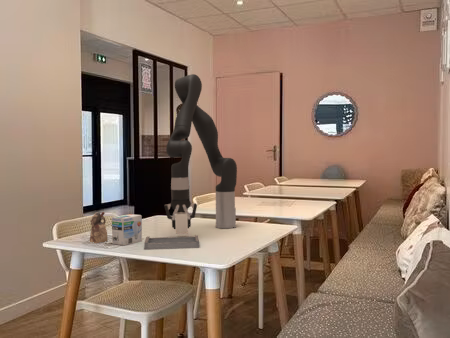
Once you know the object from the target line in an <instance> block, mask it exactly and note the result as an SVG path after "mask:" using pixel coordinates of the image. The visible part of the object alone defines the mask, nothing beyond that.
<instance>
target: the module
mask: <svg viewBox="0 0 450 338" xmlns="http://www.w3.org/2000/svg"><path fill="white" fill-rule="evenodd" d="M175 227H176V229H174V230H175V235H182V234H183V235H184V234H188V233H189V228H188V217H187V213H185V212H179V213H177V214H175Z"/></svg>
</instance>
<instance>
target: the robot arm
mask: <svg viewBox="0 0 450 338" xmlns="http://www.w3.org/2000/svg"><path fill="white" fill-rule="evenodd" d="M202 88H203V84H202V80H201V78H200V77H199V76H198V75H197V74H194V73H191V74H188V75H185V76H183V77H180V78H178V79H176V80H175V82H174V89H175V92H176V95H177V96H178V99H179V101H180V102H181V103H182V106H181V108H180V109H179V111H178V112H177V115H176V117H175V120H174V126H173V131H172V133H171V135H170V137H169V139H168V141H167V144H166V147H165V148H166V149H165V150H166V154H167V156H168V157H170V158H181V159H180V161H179V162H175V163H172V165H171V169H170V170H171V171H170V172H171V181H170V182H171V183H170V185H171V186H170V190H171V191H170V192H171V201H170V203H168V204H164V210H165V214H166V217H167V220H171V228H173V229H174V230H175V229H176V227H175V214H177V213H179V212H185V213H187V217H188V229H190V228H191V225H192V223H191V222H192V221H191V220H192V219H194V218H196V212H197V209H198V208H197V207H198V204H197V203H196V202H193V203H192V202H191V200H190V196H191V195H190V180H189V165H190V160H191V156H192V151H193V146H192V143H191V142H190V141H189V140H185V139H188V138H189V137H190V135H191V130H192V129H191V128H192V125H193V127H194V130H195V132H196V134H197V136H198V138H199V140H200V142H201V145H202V146H203V149H204V150H205V153H206V156H207V159H208V162H209V165H210V167H211V170H212V173H213V174H214V175H215V176H216V177H219V178H220V182H219V183H218V184H217V185H215V228H218V229H232V228H233V227H234V228H236V227H237V224H236V221H237V215H236V212H237V211H236V208H237V207H236V199H235V198H236V193H235V192H236V185H237V179H238V176H237V174H238V167H237V163H236V160H235V159H233V158H231V157H223V155H222V153H221V151H220V148H219V145H218V144H219V131H218V129H217V126H216V124H215V122H214V120H213V119H214V118H212V116H211V115H210V114H208V113H207V112H206V111H205V110H203V109H202V108H201V107H200V106H199V105H198V101H199V98H200V95H201V93H202ZM190 207H191V209H192V212H191V215H190V213H189V211H188V210H189V209H190ZM171 208H172V210H174V211H173V213H172V215H171V214H170V211H169V210H170V209H171Z"/></svg>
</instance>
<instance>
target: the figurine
mask: <svg viewBox="0 0 450 338" xmlns="http://www.w3.org/2000/svg"><path fill="white" fill-rule="evenodd" d="M105 214H106V212H104V211H102V212H101V213H100V212H99V211H98V212H95V213H94V214H93V215H92V217H91V220H90V221H89V222H90V226H91V229H90V236H89V241H90V242H94V243H93V244H100V243H99V242H103V243H106V242H107V241H108V238H109V237H108V231H107V227H106V225H105V224H106V220H107V219H106V217H104V215H105ZM102 220H103V222H102ZM105 241H106V242H105ZM90 242H89V243H90Z"/></svg>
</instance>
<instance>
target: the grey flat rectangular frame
mask: <svg viewBox="0 0 450 338" xmlns="http://www.w3.org/2000/svg"><path fill="white" fill-rule="evenodd" d="M143 246H144V250H164V249H165V250H169V249H195V248H196V249H199V248H200V238H199V235H198V234H195V235H193V236H167V237H165V236H164V237H150V236H146V237H145V240H144V242H143Z"/></svg>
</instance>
